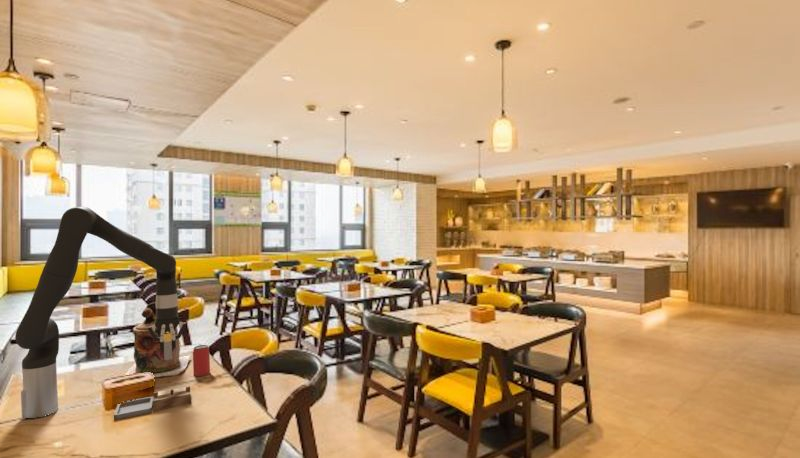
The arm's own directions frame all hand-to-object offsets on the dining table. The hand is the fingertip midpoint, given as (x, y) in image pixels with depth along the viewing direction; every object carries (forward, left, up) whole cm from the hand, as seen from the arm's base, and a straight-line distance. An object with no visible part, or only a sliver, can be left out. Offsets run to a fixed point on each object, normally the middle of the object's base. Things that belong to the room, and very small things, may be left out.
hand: (168, 350), depth 165 cm
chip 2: (+4, -10, -15) cm, 18 cm away
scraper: (0, 0, -3) cm, 3 cm away
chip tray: (-11, -10, -17) cm, 22 cm away
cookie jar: (-5, +35, -17) cm, 39 cm away
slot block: (+1, -10, -17) cm, 20 cm away
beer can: (+12, +18, -17) cm, 28 cm away
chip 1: (-1, -10, -15) cm, 18 cm away
